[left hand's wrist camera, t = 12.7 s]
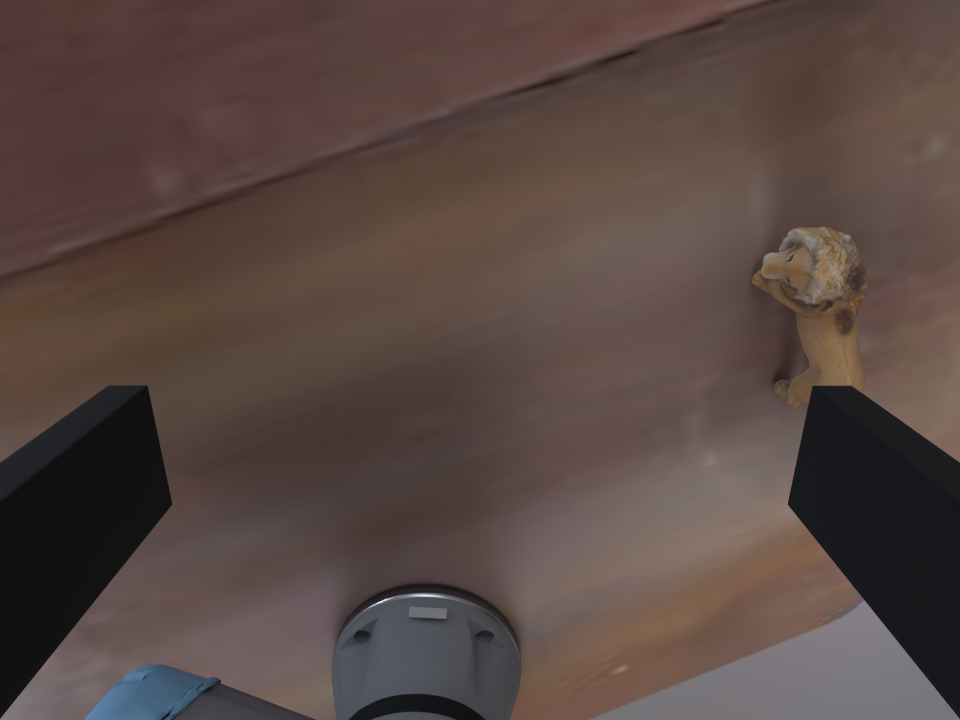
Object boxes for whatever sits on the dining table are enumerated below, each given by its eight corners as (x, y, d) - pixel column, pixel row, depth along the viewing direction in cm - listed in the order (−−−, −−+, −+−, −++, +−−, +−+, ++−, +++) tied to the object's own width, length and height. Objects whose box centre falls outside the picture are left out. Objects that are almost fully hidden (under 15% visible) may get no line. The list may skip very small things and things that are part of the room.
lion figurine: (711, 232, 39) (774, 262, 31) (793, 192, 38) (882, 212, 30) (782, 419, 44) (853, 490, 35) (856, 387, 43) (948, 452, 34)
